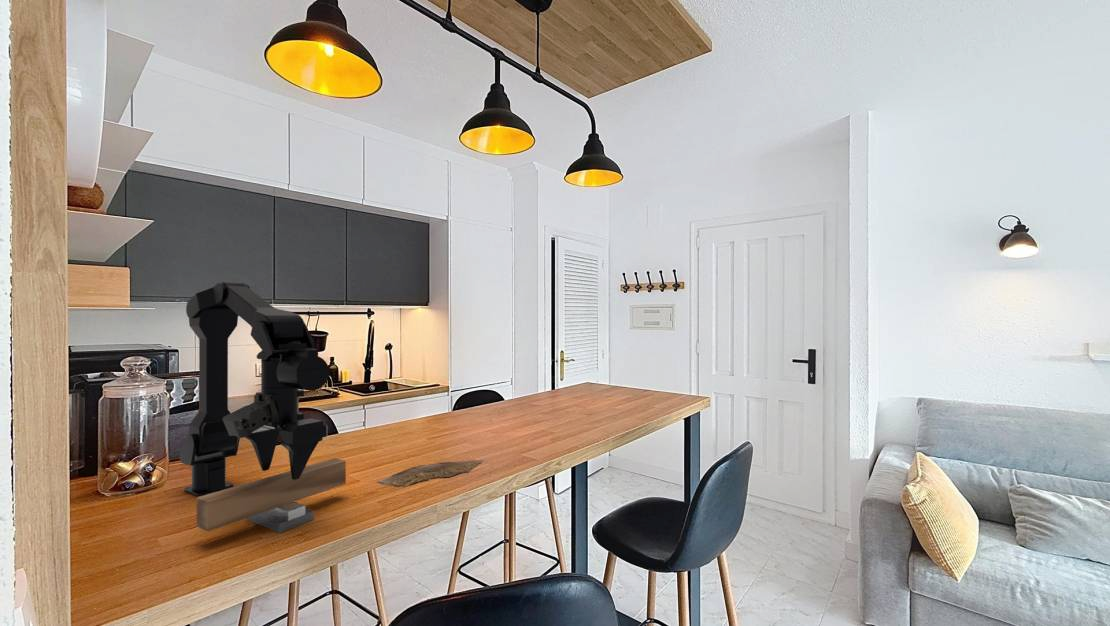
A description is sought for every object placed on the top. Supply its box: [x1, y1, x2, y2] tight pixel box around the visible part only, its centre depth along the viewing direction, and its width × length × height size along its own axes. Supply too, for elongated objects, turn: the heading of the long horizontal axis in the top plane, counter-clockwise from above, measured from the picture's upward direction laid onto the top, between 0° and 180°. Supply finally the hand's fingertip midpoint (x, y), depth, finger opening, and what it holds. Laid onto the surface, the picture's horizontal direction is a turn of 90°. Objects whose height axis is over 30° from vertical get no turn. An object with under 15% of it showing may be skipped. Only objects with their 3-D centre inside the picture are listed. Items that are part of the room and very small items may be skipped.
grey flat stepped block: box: [246, 501, 314, 534], centre depth 86 cm, size 10×6×3 cm, turn 60°
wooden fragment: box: [376, 459, 484, 488], centre depth 112 cm, size 26×11×1 cm, turn 126°
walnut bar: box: [196, 457, 347, 532], centre depth 86 cm, size 4×24×4 cm, turn 150°
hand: (280, 474), depth 86 cm, fingers open, 9 cm apart
